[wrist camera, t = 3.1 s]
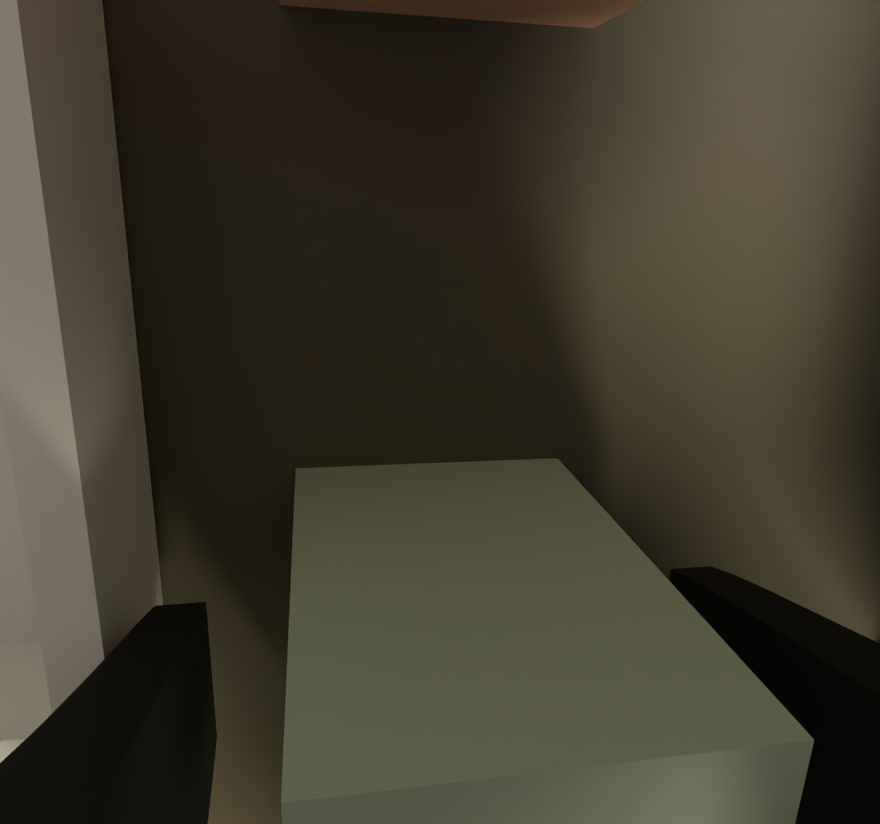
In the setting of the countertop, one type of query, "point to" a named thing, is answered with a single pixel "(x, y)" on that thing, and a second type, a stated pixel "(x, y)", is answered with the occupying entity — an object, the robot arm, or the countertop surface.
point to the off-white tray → (65, 370)
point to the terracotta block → (489, 9)
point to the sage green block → (509, 663)
